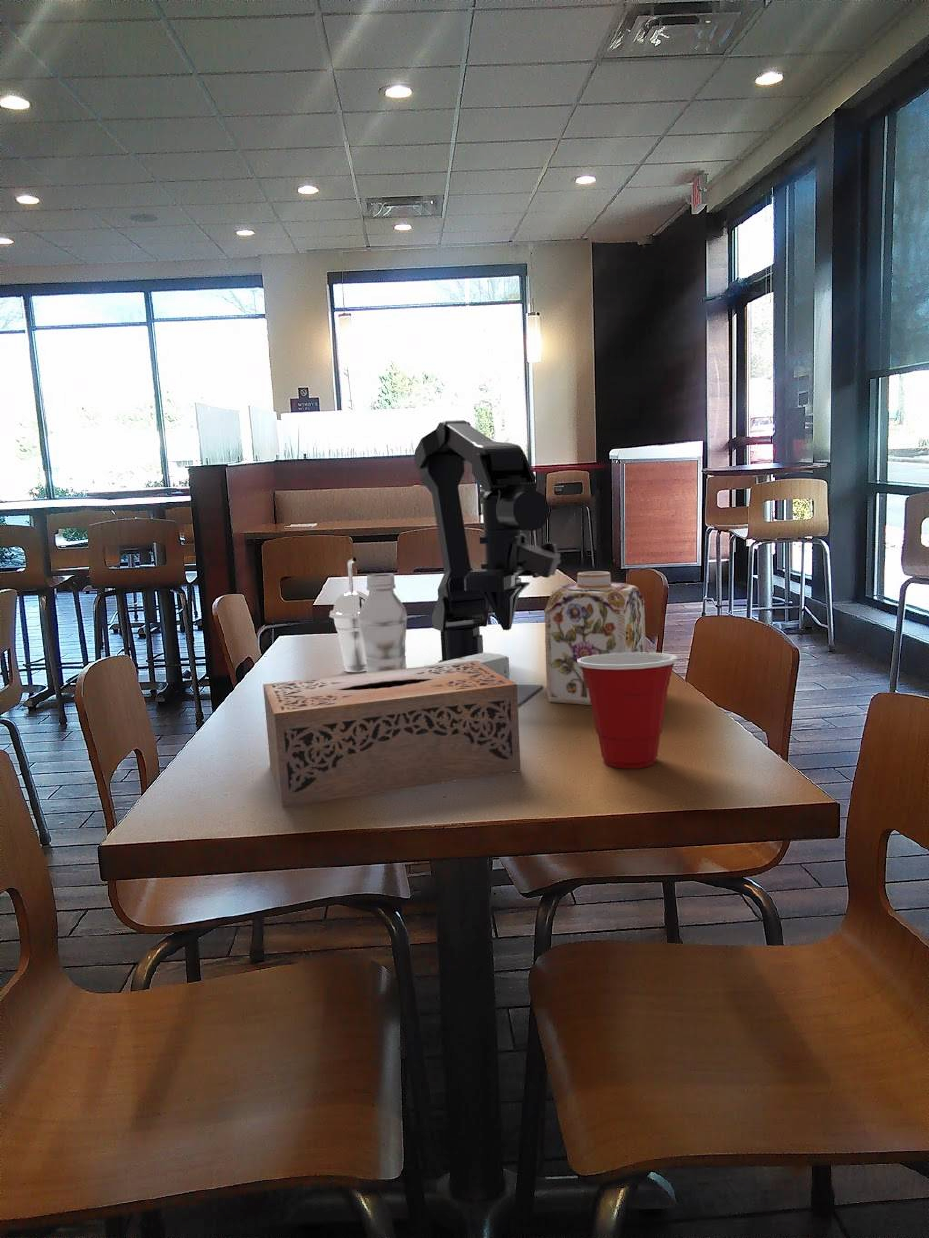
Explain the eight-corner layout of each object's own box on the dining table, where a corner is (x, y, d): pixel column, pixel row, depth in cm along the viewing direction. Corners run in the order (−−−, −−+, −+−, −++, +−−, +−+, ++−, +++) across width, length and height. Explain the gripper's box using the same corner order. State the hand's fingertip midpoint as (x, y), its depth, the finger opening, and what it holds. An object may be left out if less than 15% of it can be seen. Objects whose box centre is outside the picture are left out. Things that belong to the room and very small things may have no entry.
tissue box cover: (480, 739, 111) (476, 660, 109) (520, 773, 97) (517, 684, 96) (270, 767, 104) (263, 684, 102) (282, 809, 90) (274, 713, 88)
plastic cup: (661, 742, 104) (660, 642, 103) (692, 772, 94) (691, 660, 92) (570, 749, 104) (567, 648, 102) (591, 780, 93) (588, 668, 91)
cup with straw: (387, 664, 159) (380, 552, 156) (373, 675, 150) (365, 557, 147) (342, 664, 160) (333, 554, 157) (325, 675, 151) (316, 559, 148)
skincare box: (509, 655, 137) (448, 667, 129) (510, 683, 138) (449, 697, 130) (483, 651, 142) (422, 663, 134) (484, 679, 142) (424, 692, 135)
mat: (433, 706, 127) (433, 704, 127) (470, 683, 140) (470, 682, 140) (512, 710, 122) (512, 708, 122) (543, 687, 135) (543, 685, 135)
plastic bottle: (421, 717, 121) (413, 571, 118) (402, 731, 115) (392, 578, 112) (378, 715, 123) (369, 572, 120) (357, 729, 117) (346, 578, 114)
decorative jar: (545, 703, 126) (540, 577, 123) (571, 684, 136) (567, 567, 133) (628, 708, 120) (624, 576, 118) (649, 688, 131) (646, 567, 128)
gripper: (533, 532, 123) (537, 642, 126) (570, 523, 140) (573, 620, 143) (459, 534, 128) (465, 640, 130) (504, 525, 145) (508, 619, 147)
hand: (507, 629), depth 137 cm, fingers closed
